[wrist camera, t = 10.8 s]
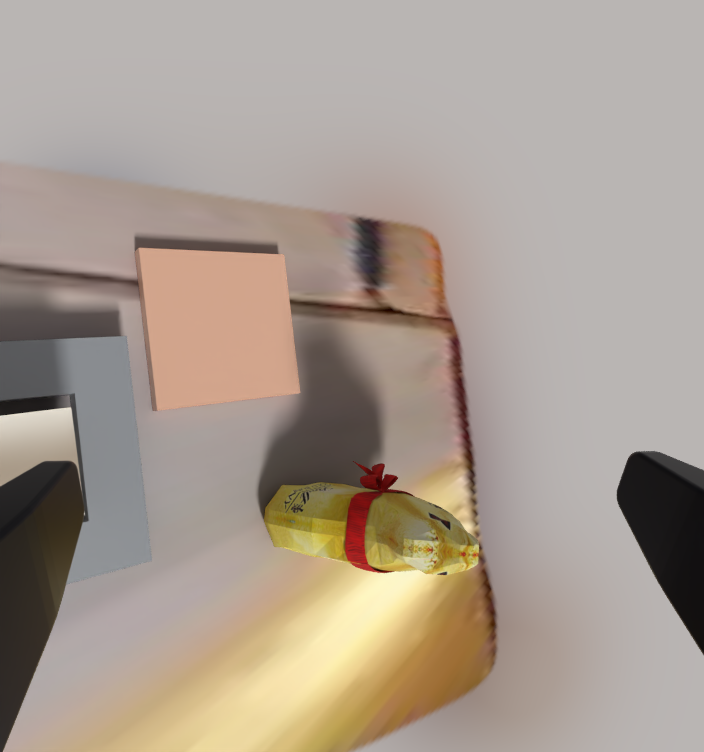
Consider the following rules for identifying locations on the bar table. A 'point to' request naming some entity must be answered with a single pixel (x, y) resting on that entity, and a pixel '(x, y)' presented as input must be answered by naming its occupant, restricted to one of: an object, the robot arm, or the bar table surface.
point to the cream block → (35, 441)
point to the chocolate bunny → (370, 527)
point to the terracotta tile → (215, 326)
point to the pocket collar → (91, 440)
